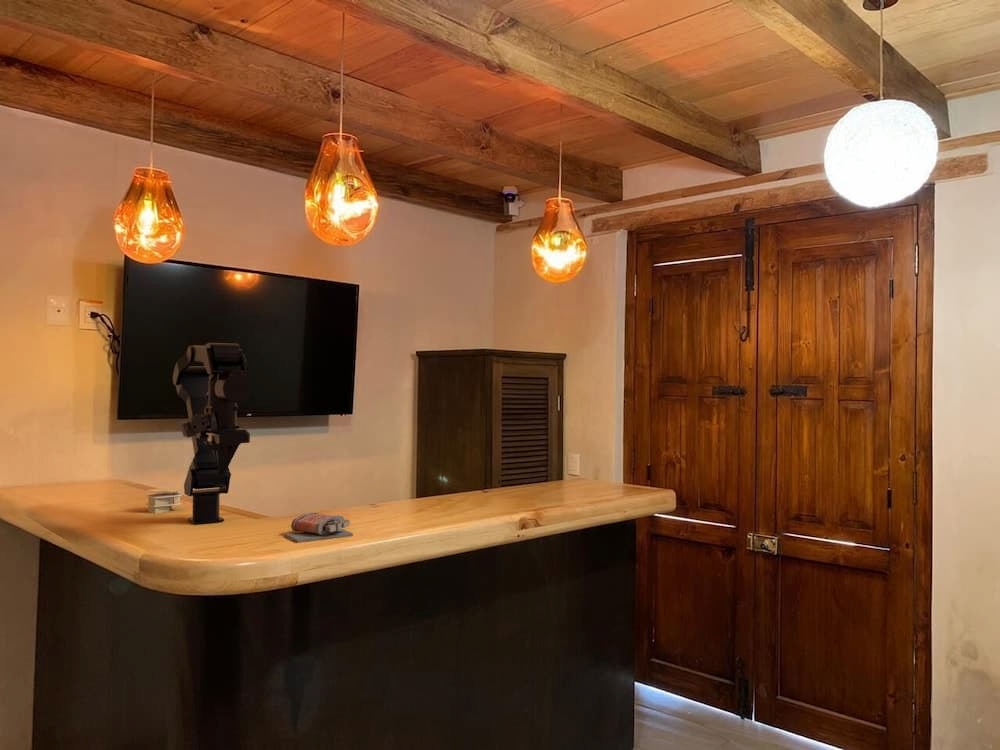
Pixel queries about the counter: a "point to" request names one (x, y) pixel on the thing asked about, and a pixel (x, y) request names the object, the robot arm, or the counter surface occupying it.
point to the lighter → (319, 523)
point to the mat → (316, 536)
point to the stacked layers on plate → (163, 500)
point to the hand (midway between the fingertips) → (221, 474)
